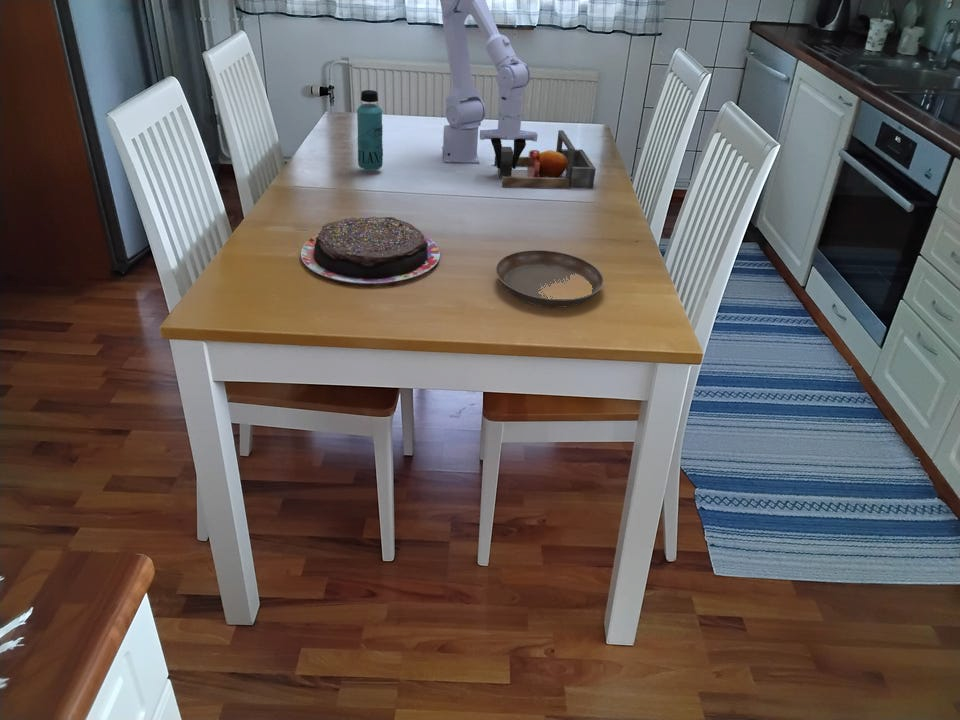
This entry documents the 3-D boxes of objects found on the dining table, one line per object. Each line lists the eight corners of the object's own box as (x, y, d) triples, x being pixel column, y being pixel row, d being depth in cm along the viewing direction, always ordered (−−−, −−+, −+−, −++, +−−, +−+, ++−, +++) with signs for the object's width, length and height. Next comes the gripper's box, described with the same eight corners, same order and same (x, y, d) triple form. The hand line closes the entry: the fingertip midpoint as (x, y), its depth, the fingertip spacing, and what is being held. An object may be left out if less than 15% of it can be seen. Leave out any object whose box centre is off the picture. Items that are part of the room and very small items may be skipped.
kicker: (501, 182, 192) (503, 155, 188) (496, 169, 200) (498, 142, 196) (540, 183, 193) (543, 156, 189) (533, 169, 201) (536, 144, 198)
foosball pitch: (502, 187, 189) (505, 147, 183) (494, 164, 203) (497, 127, 198) (593, 189, 192) (599, 150, 186) (579, 166, 206) (584, 130, 200)
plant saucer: (613, 279, 150) (616, 264, 148) (583, 325, 134) (585, 308, 132) (517, 256, 156) (519, 241, 154) (477, 297, 140) (478, 281, 138)
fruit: (530, 175, 193) (537, 144, 193) (535, 182, 201) (542, 153, 200) (560, 180, 191) (567, 149, 191) (564, 187, 199) (571, 157, 198)
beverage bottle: (353, 173, 191) (351, 92, 180) (363, 165, 196) (361, 86, 185) (378, 177, 190) (376, 95, 179) (387, 169, 195) (386, 89, 184)
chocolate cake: (373, 219, 168) (373, 191, 165) (468, 258, 154) (470, 228, 150) (271, 256, 150) (268, 225, 146) (368, 305, 135) (367, 272, 132)
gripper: (482, 117, 183) (479, 171, 191) (541, 119, 185) (535, 173, 192) (480, 110, 189) (477, 162, 197) (536, 112, 191) (531, 164, 198)
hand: (505, 167), depth 195 cm, fingers open, 3 cm apart
